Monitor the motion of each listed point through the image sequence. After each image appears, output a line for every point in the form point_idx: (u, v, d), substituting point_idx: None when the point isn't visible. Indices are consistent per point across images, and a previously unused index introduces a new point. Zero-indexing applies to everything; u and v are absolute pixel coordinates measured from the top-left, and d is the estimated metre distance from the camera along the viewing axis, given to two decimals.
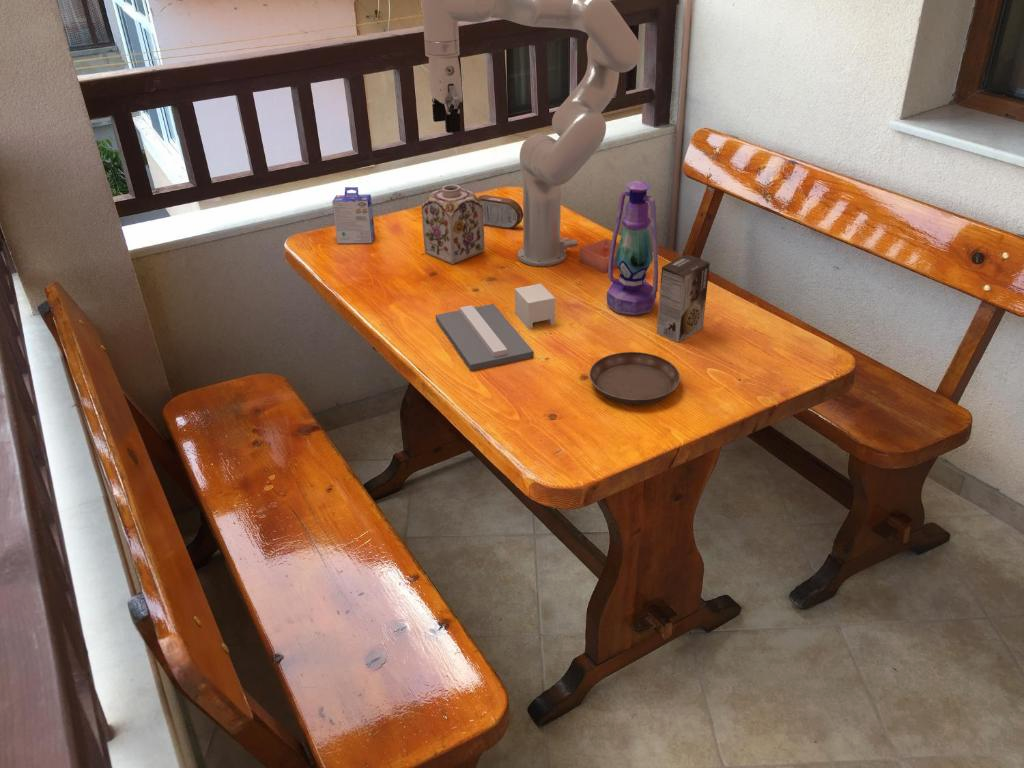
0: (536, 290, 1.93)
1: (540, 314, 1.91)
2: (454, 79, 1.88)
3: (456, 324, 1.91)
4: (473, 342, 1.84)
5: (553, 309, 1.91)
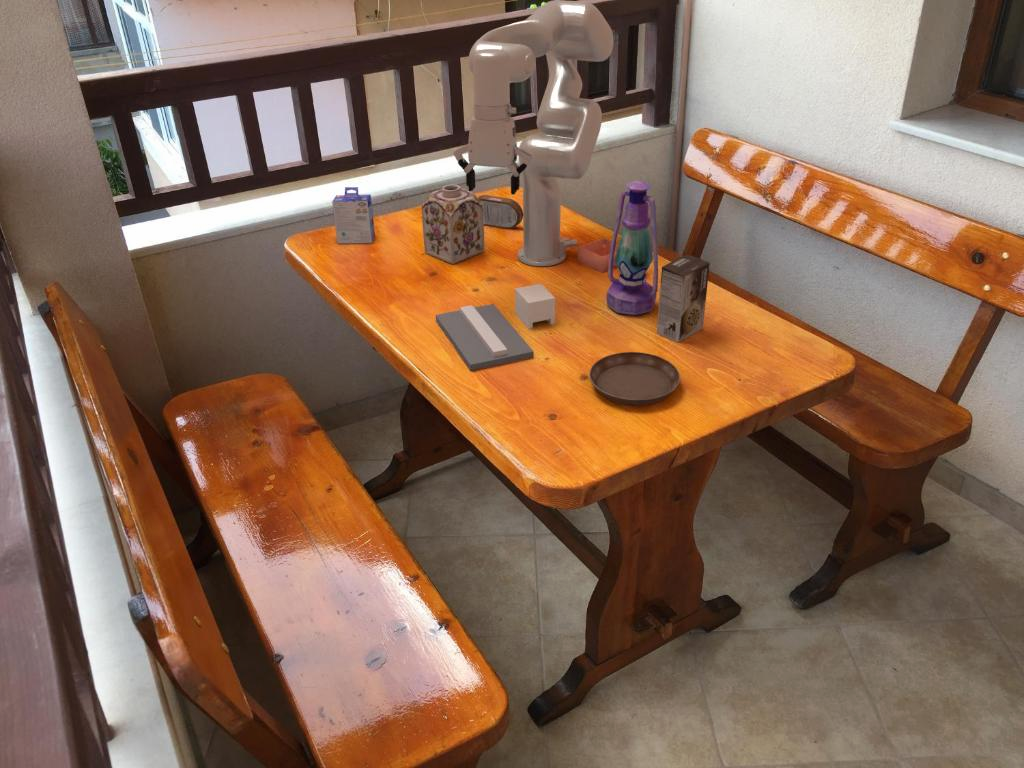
0: (536, 290, 1.93)
1: (540, 314, 1.91)
2: (515, 139, 1.84)
3: (456, 324, 1.91)
4: (473, 342, 1.84)
5: (553, 309, 1.91)
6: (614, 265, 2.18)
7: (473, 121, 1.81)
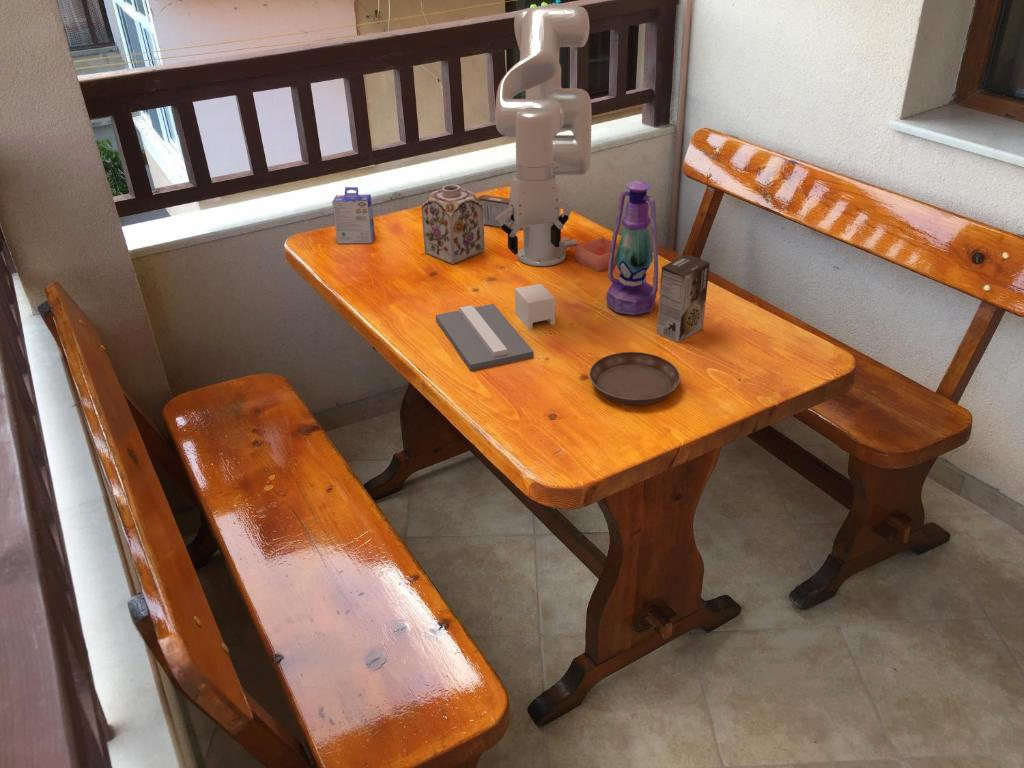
0: (536, 290, 1.93)
1: (540, 314, 1.91)
2: None
3: (456, 324, 1.91)
4: (473, 342, 1.84)
5: (553, 309, 1.91)
6: None
7: (522, 184, 1.75)
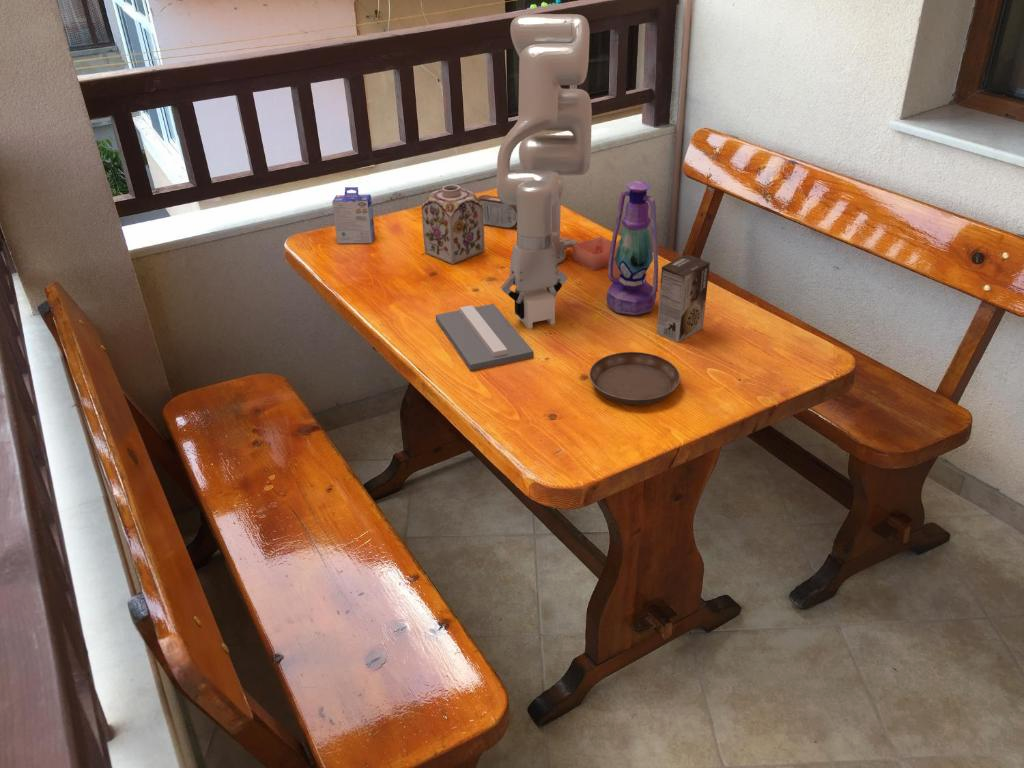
0: (536, 290, 1.93)
1: (540, 314, 1.91)
2: None
3: (456, 324, 1.91)
4: (473, 342, 1.84)
5: (553, 309, 1.91)
6: (607, 264, 2.18)
7: (523, 252, 1.83)
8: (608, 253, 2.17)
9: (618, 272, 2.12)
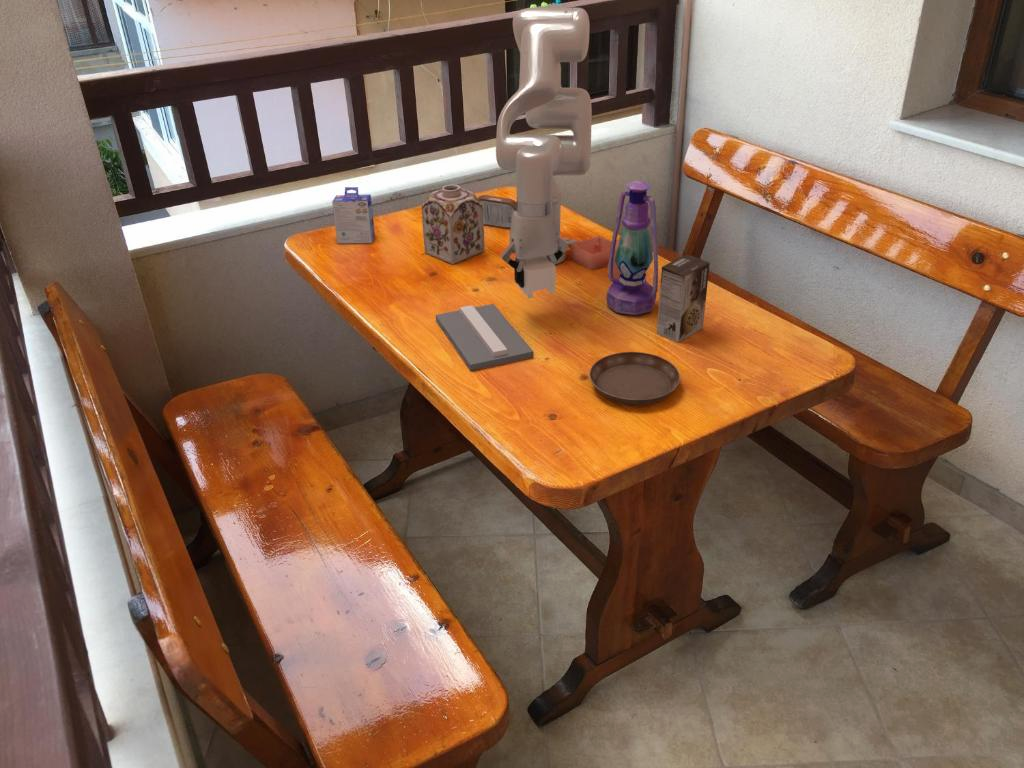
0: (536, 258, 1.90)
1: (540, 283, 1.88)
2: None
3: (456, 324, 1.91)
4: (473, 342, 1.84)
5: (553, 278, 1.88)
6: (605, 263, 2.19)
7: (523, 220, 1.80)
8: (606, 252, 2.17)
9: (615, 272, 2.12)
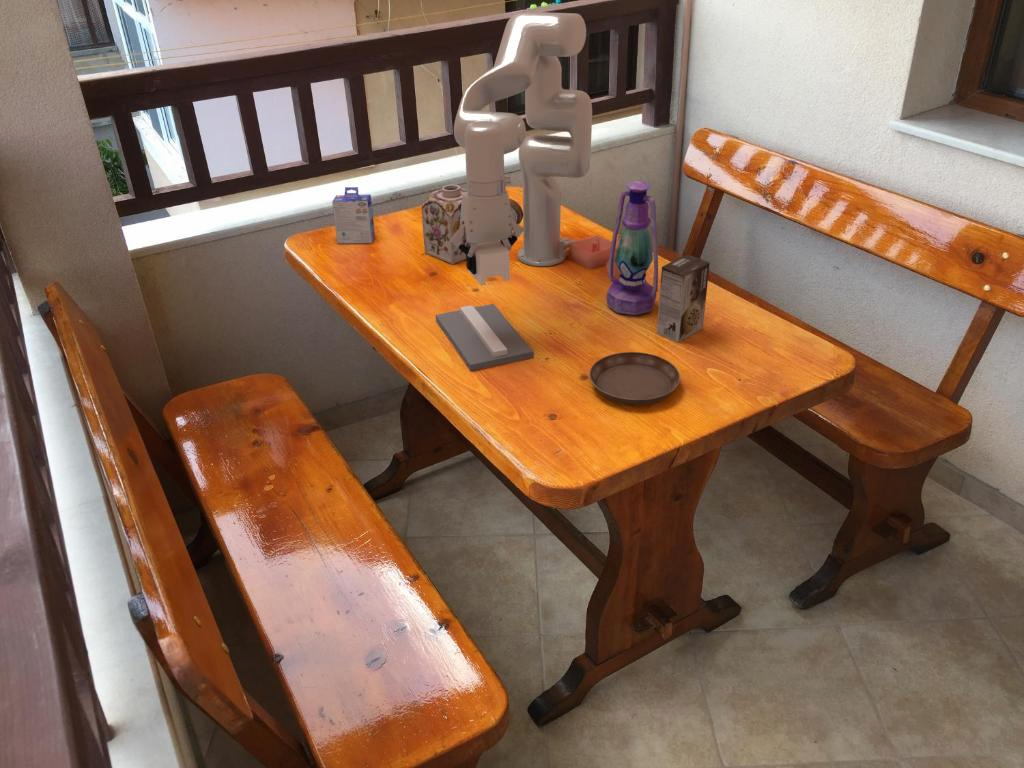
0: (489, 244, 1.79)
1: (493, 269, 1.76)
2: None
3: (456, 324, 1.91)
4: (473, 342, 1.84)
5: (508, 263, 1.77)
6: (603, 262, 2.19)
7: (473, 200, 1.69)
8: (604, 252, 2.18)
9: (613, 271, 2.12)
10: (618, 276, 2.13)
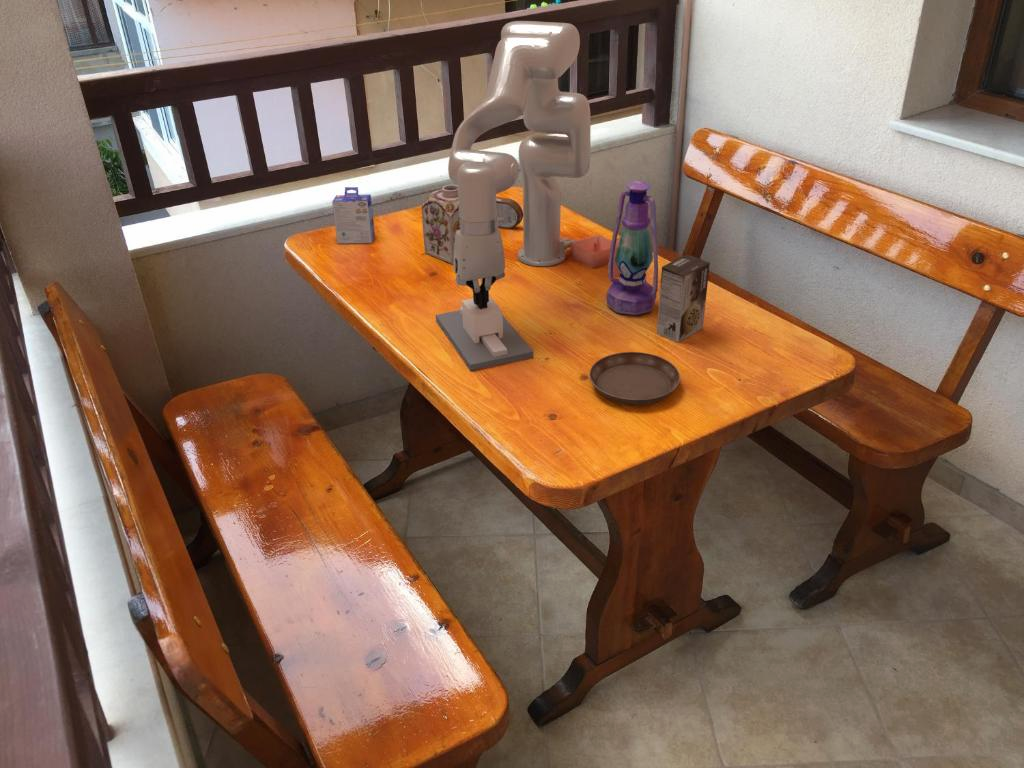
0: None
1: (487, 328, 1.82)
2: None
3: (456, 324, 1.91)
4: (473, 342, 1.84)
5: (501, 322, 1.83)
6: (605, 262, 2.20)
7: (465, 238, 1.72)
8: (606, 251, 2.18)
9: (615, 270, 2.13)
10: None
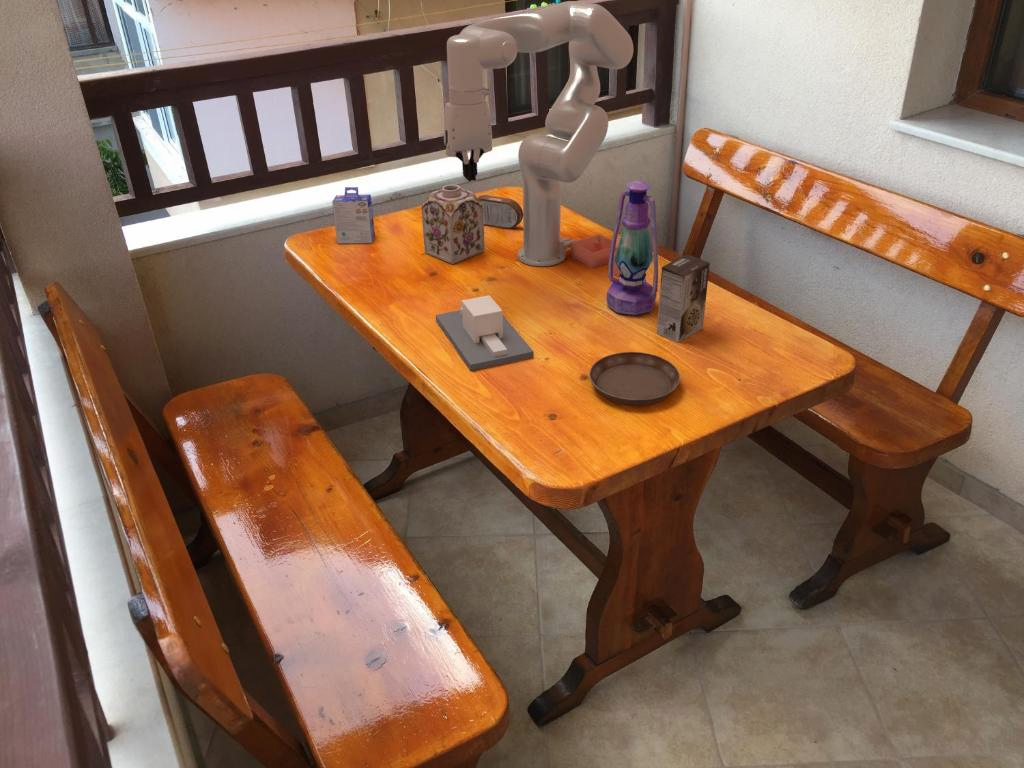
0: (483, 302, 1.85)
1: (487, 328, 1.82)
2: None
3: (456, 324, 1.91)
4: (473, 342, 1.84)
5: (501, 322, 1.83)
6: (605, 261, 2.20)
7: (454, 108, 1.84)
8: (606, 251, 2.18)
9: (616, 269, 2.13)
10: None
